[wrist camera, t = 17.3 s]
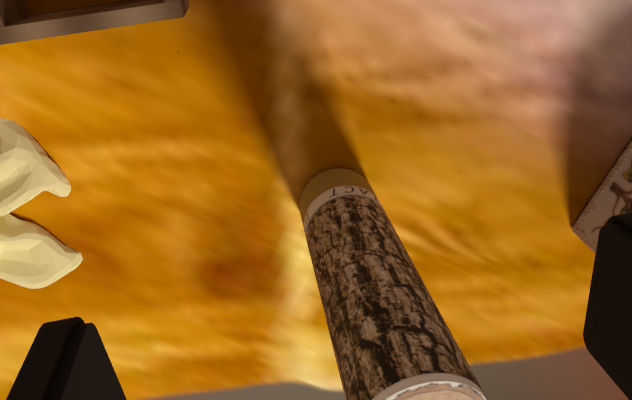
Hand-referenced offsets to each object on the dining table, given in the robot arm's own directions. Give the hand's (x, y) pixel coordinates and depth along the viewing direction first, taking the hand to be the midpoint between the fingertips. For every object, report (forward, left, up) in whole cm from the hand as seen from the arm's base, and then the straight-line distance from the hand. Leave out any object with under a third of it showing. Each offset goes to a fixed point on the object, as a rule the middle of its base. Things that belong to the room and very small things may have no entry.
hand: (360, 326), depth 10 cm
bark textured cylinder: (-4, +16, -34) cm, 38 cm away
